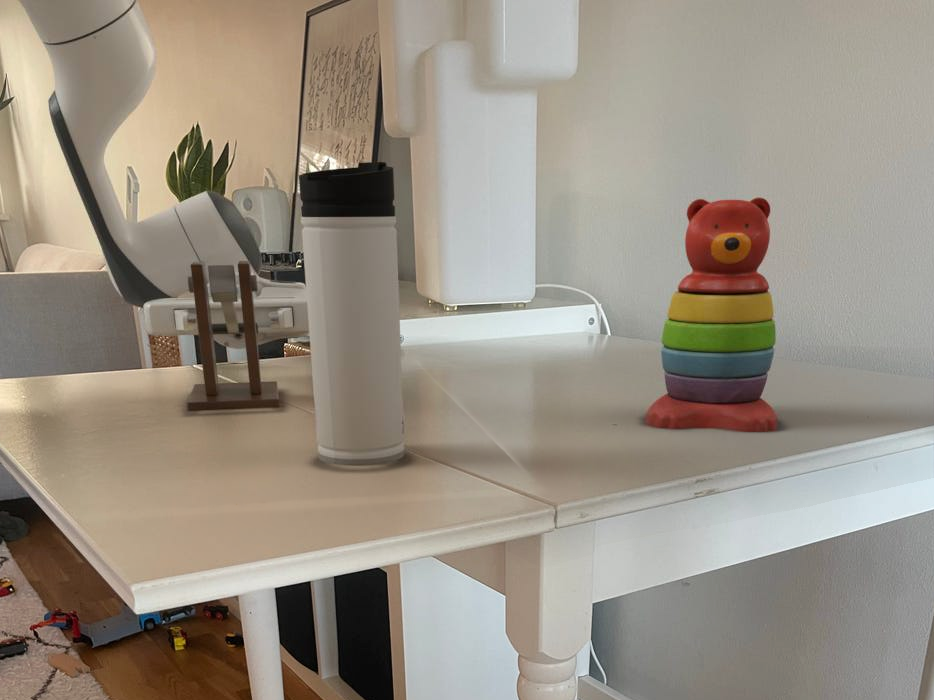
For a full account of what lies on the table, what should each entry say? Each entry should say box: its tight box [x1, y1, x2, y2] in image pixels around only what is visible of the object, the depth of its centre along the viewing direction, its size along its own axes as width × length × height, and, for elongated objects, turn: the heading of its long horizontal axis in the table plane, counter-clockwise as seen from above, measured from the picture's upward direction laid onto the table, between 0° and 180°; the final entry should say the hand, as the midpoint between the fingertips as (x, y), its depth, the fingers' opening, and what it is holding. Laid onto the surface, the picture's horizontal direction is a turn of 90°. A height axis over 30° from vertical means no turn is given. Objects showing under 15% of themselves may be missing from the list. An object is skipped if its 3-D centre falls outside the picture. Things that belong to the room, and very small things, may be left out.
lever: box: [208, 265, 258, 335], centre depth 94 cm, size 16×5×2 cm, turn 11°
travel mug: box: [298, 161, 405, 467], centre depth 67 cm, size 6×7×20 cm
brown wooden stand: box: [186, 261, 280, 412], centre depth 89 cm, size 10×8×13 cm
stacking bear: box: [645, 197, 778, 433], centre depth 81 cm, size 11×10×18 cm
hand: (233, 322), depth 108 cm, fingers open, 8 cm apart
